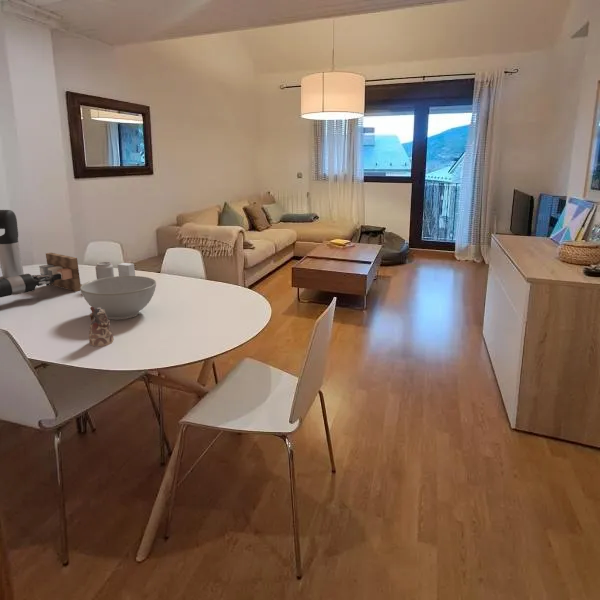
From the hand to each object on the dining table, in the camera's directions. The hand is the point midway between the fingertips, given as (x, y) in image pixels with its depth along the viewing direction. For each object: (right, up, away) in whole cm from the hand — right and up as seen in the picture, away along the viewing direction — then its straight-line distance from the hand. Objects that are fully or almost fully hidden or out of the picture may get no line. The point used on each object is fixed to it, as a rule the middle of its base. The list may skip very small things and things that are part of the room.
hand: (60, 276), depth 200 cm
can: (+16, -5, +10) cm, 20 cm away
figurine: (+41, -25, -52) cm, 71 cm away
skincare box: (+27, -6, +9) cm, 29 cm away
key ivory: (-5, 0, +7) cm, 8 cm away
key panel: (-2, -4, +13) cm, 13 cm away
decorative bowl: (+37, -16, -25) cm, 48 cm away
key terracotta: (+1, -1, +3) cm, 4 cm away
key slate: (-11, +2, +10) cm, 15 cm away
